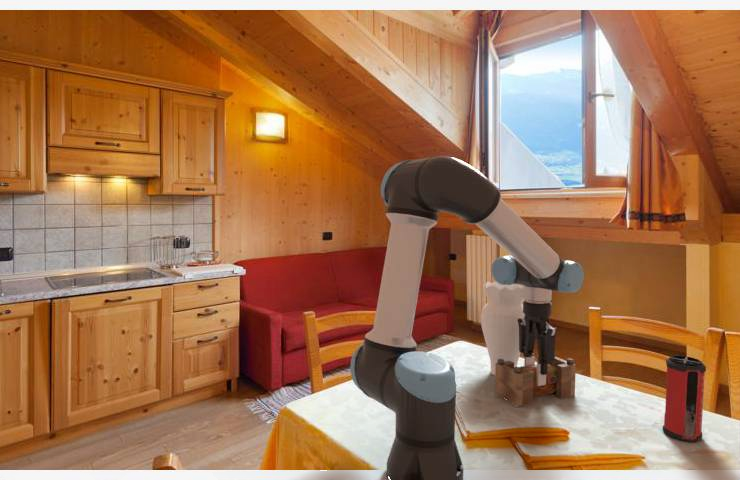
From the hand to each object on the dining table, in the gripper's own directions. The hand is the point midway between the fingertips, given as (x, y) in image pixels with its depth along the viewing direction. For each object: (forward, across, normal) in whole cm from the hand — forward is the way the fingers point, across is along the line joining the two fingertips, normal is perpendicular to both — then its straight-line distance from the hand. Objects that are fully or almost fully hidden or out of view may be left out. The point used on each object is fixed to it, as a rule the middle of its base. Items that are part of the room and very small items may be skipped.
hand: (535, 381), depth 131 cm
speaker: (+4, -31, -16) cm, 35 cm away
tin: (+4, 0, 0) cm, 4 cm away
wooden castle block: (+4, 0, 0) cm, 4 cm away
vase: (+4, +17, -2) cm, 17 cm away
